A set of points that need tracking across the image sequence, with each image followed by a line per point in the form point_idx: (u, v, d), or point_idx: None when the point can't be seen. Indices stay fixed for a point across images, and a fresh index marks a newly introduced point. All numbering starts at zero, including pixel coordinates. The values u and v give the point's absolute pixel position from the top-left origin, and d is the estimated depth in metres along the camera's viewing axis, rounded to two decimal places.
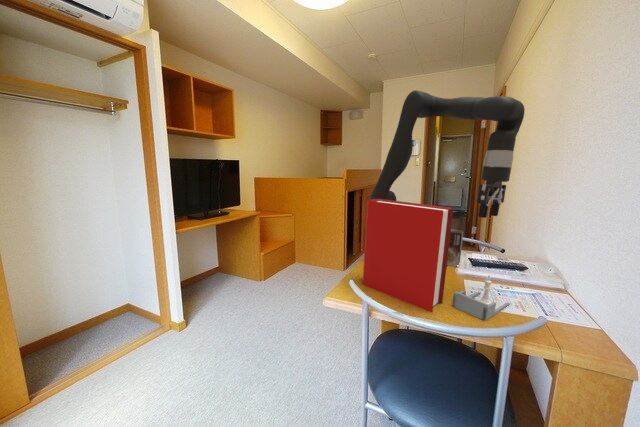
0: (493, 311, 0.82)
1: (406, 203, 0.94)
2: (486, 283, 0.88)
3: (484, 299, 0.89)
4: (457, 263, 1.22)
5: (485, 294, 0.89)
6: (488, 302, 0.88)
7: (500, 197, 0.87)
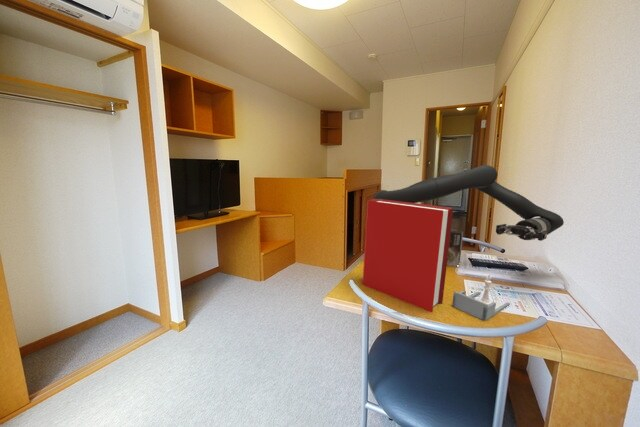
0: (493, 311, 0.82)
1: (406, 203, 0.94)
2: (486, 283, 0.88)
3: (484, 299, 0.89)
4: (457, 263, 1.22)
5: (485, 294, 0.89)
6: (488, 302, 0.88)
7: None
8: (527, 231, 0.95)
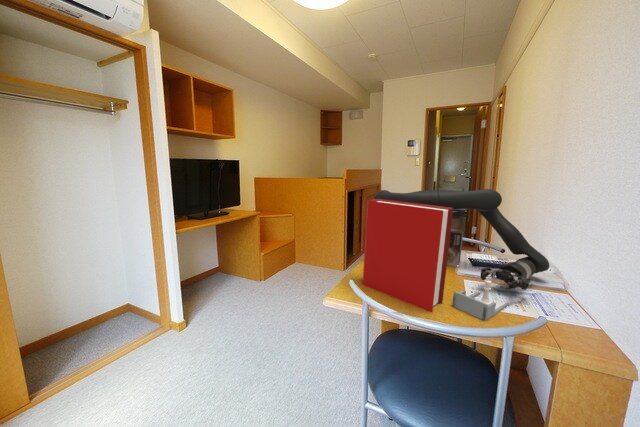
0: (493, 311, 0.82)
1: (406, 203, 0.94)
2: (486, 283, 0.88)
3: (484, 299, 0.89)
4: (457, 263, 1.22)
5: (485, 294, 0.89)
6: (488, 302, 0.88)
7: (495, 279, 0.98)
8: (511, 278, 0.94)
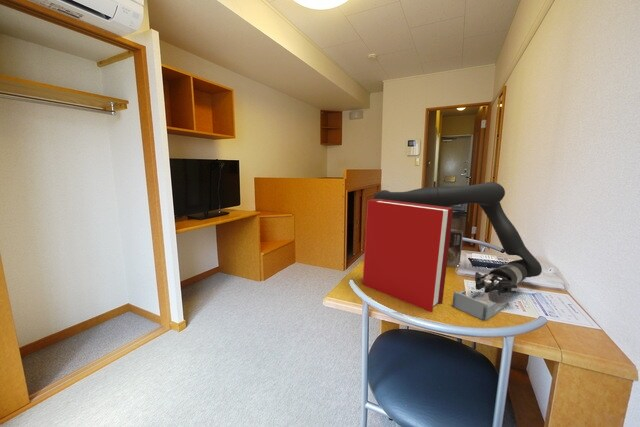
0: (493, 311, 0.82)
1: (406, 203, 0.94)
2: (486, 283, 0.88)
3: (484, 299, 0.89)
4: (457, 263, 1.22)
5: (485, 294, 0.89)
6: (488, 302, 0.88)
7: None
8: None
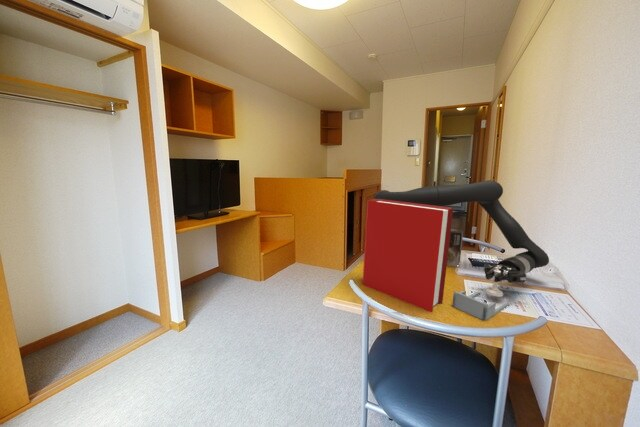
0: (493, 311, 0.82)
1: (406, 203, 0.94)
2: (495, 273, 0.91)
3: (494, 288, 0.92)
4: (457, 263, 1.22)
5: (495, 283, 0.92)
6: (498, 291, 0.91)
7: None
8: None
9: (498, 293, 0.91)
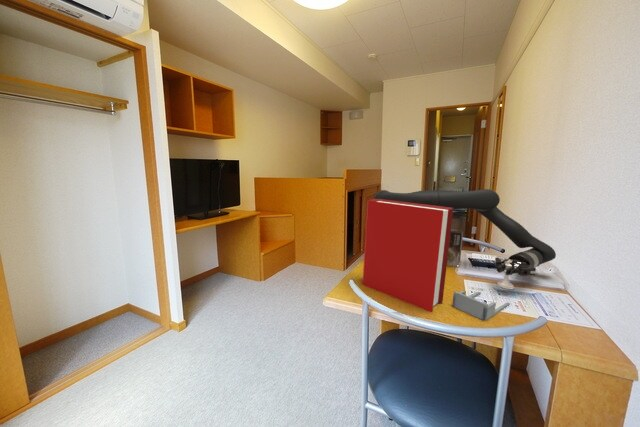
0: (493, 311, 0.82)
1: (406, 203, 0.94)
2: (507, 266, 0.96)
3: (505, 281, 0.97)
4: (457, 263, 1.22)
5: (505, 277, 0.97)
6: (508, 284, 0.96)
7: None
8: None
9: (509, 286, 0.96)
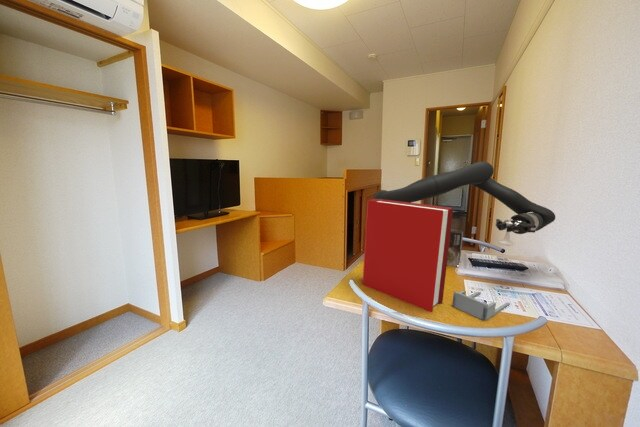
0: (493, 311, 0.82)
1: (406, 203, 0.94)
2: (507, 224, 0.98)
3: (505, 239, 0.98)
4: (457, 263, 1.22)
5: (506, 235, 0.98)
6: (509, 242, 0.98)
7: None
8: None
9: (510, 243, 0.97)
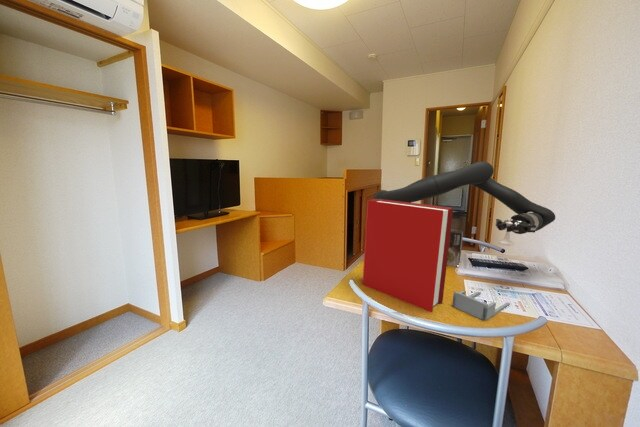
0: (493, 311, 0.82)
1: (406, 203, 0.94)
2: (507, 224, 0.98)
3: (505, 239, 0.98)
4: (457, 263, 1.22)
5: (506, 235, 0.98)
6: (509, 242, 0.98)
7: None
8: None
9: (510, 243, 0.97)
